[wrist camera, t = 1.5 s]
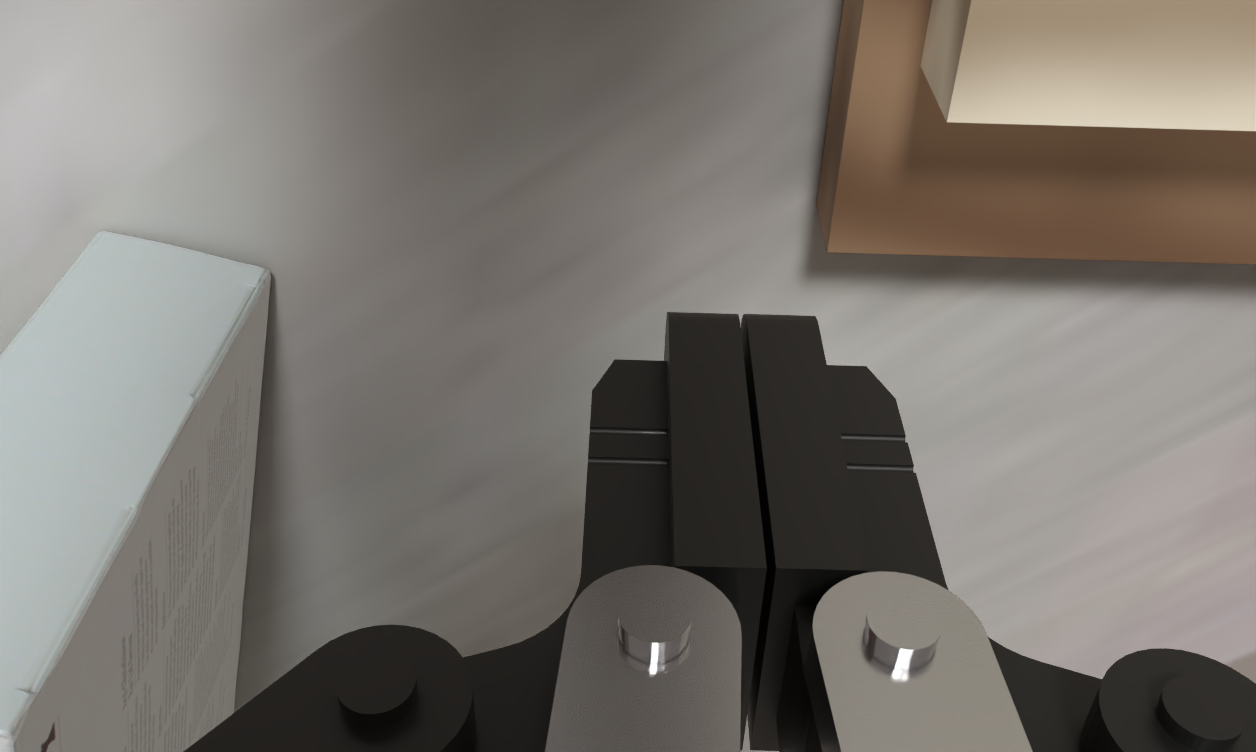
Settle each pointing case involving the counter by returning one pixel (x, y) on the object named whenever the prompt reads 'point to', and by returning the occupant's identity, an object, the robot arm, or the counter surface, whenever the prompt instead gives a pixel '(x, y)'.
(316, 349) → the counter surface
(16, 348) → the skincare box
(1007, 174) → the brown flat block
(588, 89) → the counter surface
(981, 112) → the beige block
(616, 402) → the robot arm
